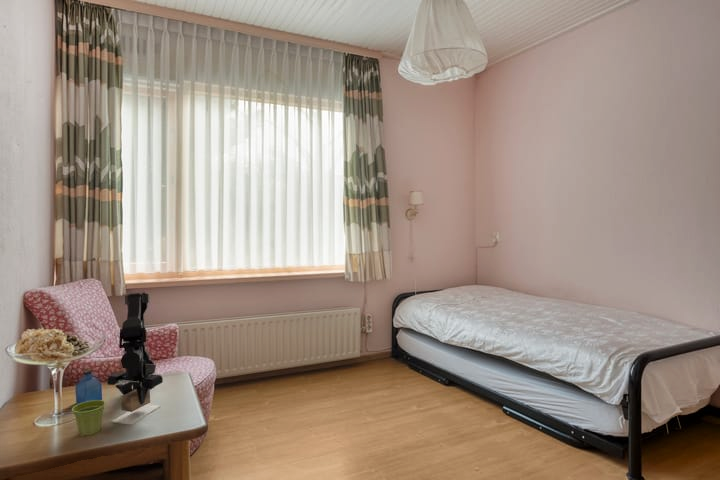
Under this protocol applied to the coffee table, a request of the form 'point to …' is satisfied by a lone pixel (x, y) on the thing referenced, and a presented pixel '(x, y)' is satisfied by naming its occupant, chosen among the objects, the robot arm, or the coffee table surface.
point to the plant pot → (89, 416)
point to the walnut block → (133, 401)
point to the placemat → (135, 414)
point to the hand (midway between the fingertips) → (136, 403)
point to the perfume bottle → (88, 388)
